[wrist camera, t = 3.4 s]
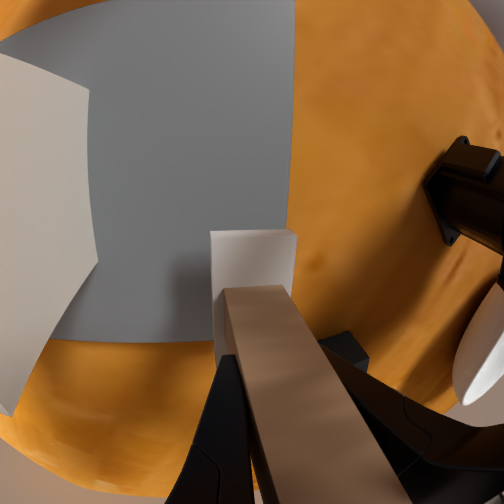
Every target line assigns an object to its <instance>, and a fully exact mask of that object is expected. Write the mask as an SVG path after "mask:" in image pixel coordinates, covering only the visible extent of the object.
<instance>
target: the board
mask: <svg viewBox="0 0 504 504" xmlns="http://www.w3.org/2000/svg"><path fill="white" fill-rule="evenodd" d="M294 51H295V0H109V1H104V2H100V3H96V4H92V5H89V6H85V7H82V8H78V9H75V10H72V11H69V12H66V13H63V14H60V15H57V16H55V17H52V18H49V19H47V20H44V21H42V22H39V23H37V24H35V25H32V26H30V27H28V28H26V29H24V30H22V31H20V32H18V33H15V34H14V35H12V36H10V37H8V38H6V39H4V40H2V41H0V53H1V54H4V55H7V56H10V57H12V58H15V59H18V60H21V61H23V62H26V63H29V64H31V65H34V66H36V67H39V68H41V69H44V70H46V71H48V72H51V73H53V74H56V75H58V76H60V77H62V78H65V79H67V80H69V81H72V82H74V83H76V84H78V85H80V86H83V87H85V88H87V89H89V102H88V122H87V162H88V183H89V196H90V207H91V216H92V224H93V232H94V239H95V245H96V251H97V257H98V262H97V264H96V265H95V267H94V268H93V269H92V271H91V272H90V274H89V275H88V276H87V278H86V279H85V281H84V282H83V284H82V285H81V287H80V288H79V290H78V291H77V293H76V294H75V296H74V297H73V299H72V300H71V302H70V304H69V305H68V307H67V308H66V310H65V312H64V313H63V315H62V317H61V318H60V320H59V322H58V323H57V325H56V327H55V328H54V330H53V332H52V334H51V335H50V337H49V338H50V339H61V340H75V341H92V342H120V343H164V342H194V341H212V340H214V334H213V315H212V291H211V257H210V231H229V230H271V229H286V218H287V205H288V191H289V175H290V159H291V140H292V119H293V93H294Z"/></svg>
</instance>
